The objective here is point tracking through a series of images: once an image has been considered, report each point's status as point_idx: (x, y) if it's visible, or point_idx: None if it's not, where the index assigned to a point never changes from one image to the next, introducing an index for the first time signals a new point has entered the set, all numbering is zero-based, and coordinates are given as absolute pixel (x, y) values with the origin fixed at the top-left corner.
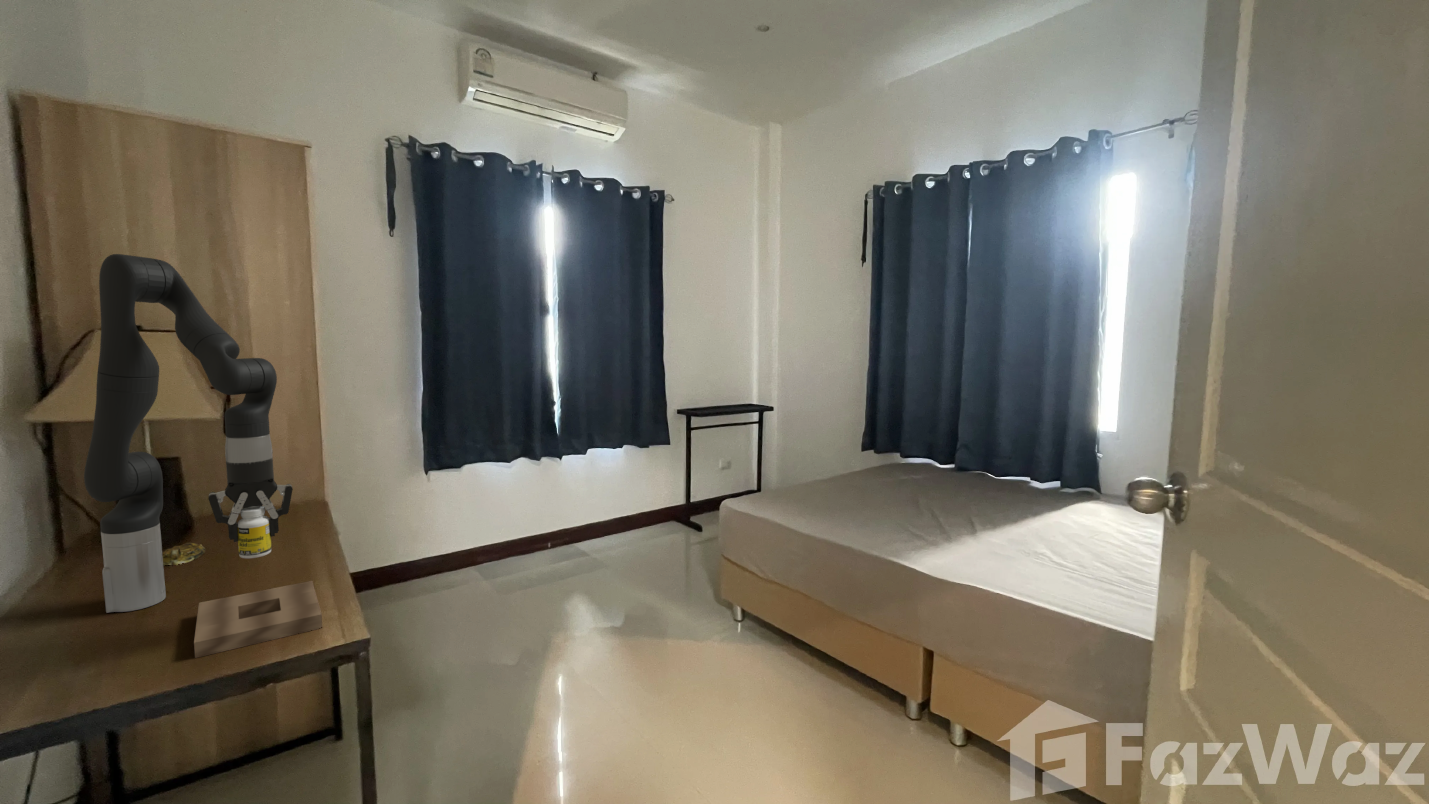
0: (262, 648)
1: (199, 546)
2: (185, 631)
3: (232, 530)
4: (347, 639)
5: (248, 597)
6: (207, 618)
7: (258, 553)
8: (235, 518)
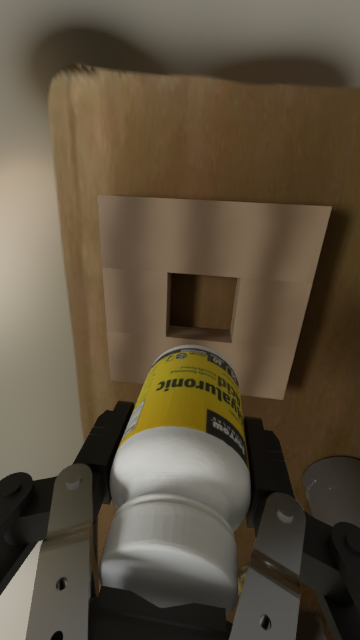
0: (213, 167)
1: (240, 589)
2: (306, 338)
3: (270, 466)
4: (65, 94)
5: None
6: (285, 319)
7: (186, 349)
8: (268, 528)
